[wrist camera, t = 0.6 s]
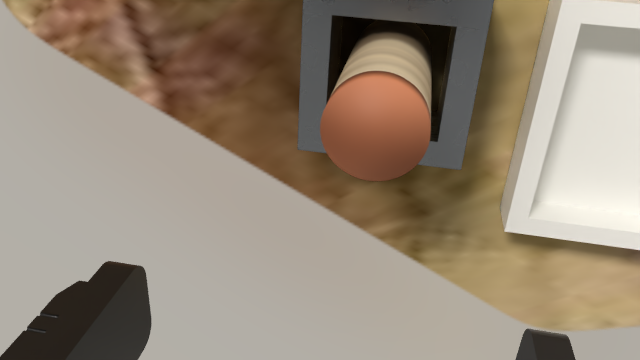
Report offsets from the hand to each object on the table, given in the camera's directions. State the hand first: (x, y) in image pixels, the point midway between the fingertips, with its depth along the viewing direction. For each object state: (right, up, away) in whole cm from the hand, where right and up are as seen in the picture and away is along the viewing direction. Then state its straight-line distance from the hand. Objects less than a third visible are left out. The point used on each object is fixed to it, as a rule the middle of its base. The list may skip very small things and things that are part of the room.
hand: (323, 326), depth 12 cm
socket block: (+4, +9, +17) cm, 20 cm away
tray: (+16, +6, +17) cm, 24 cm away
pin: (+4, +9, +17) cm, 20 cm away
